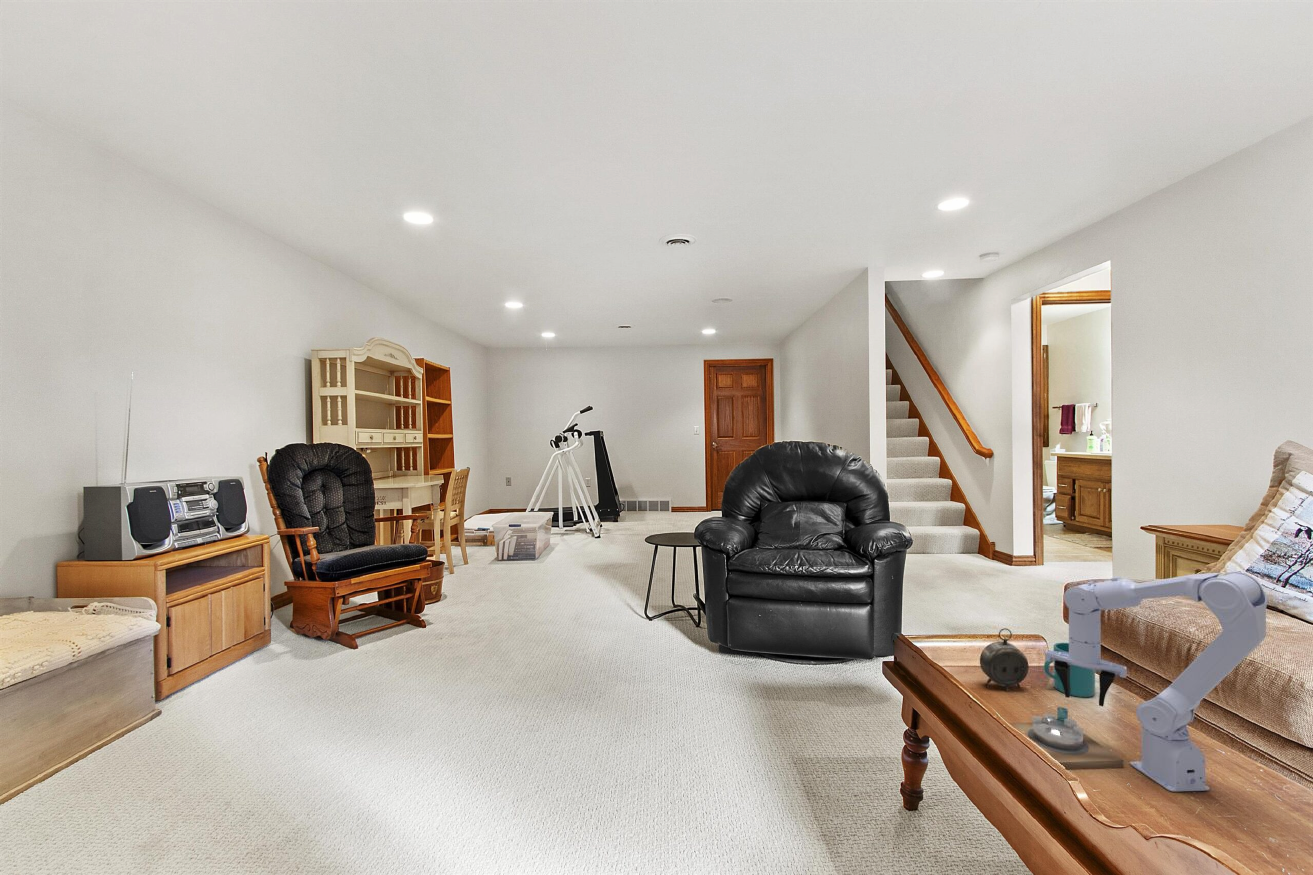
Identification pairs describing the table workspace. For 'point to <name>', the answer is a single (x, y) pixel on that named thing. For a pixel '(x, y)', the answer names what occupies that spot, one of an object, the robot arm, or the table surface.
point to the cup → (1073, 676)
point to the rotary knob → (1058, 730)
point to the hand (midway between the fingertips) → (1084, 700)
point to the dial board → (1076, 752)
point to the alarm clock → (1004, 663)
